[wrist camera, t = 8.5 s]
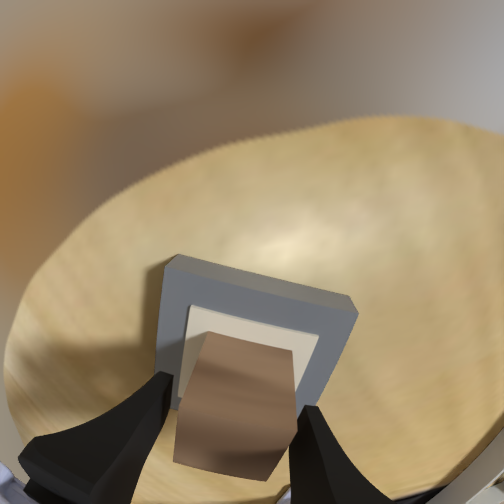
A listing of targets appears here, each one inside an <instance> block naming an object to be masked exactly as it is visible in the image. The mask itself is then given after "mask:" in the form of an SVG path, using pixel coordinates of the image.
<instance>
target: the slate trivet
mask: <svg viewBox="0 0 504 504" xmlns="http://www.w3.org/2000/svg"><path fill="white" fill-rule="evenodd" d="M358 314H359V313H358V311H357V309H356V307H355V306H354V304H353V302H352V300H351V298H350V296H347V295H343V294H338V293H334V292H330V291H326V290H321V289H317V288H313V287H309V286H304V285H300V284H296V283H292V282H288V281H284V280H280V279H275V278H271V277H267V276H263V275H259V274H255V273H251V272H247V271H243V270H239V269H235V268H231V267H227V266H223V265H219V264H215V263H211V262H208V261H204V260H200V259H196V258H192V257H188V256H184V255H181V254H178V255H177V256H176V257H175V258H173V259H172V260H171V261H170V262H169V263H168V264H167V265H166V266H165V269H164V277H163V284H162V293H161V301H160V310H159V320H158V331H157V343H156V356H155V371H154V375H155V374H156V373H157V372H159V371H163V372H166V373H169V374H172V375H174V378H173V387H172V397H171V406H170V408H171V409H174V410H178V409H179V404H180V402H181V399H182V397H183V394H184V392H185V389H186V387H187V384H188V381H189V379H190V376H191V374H192V371H193V369H194V366H195V364H196V361H197V359H198V356H199V354H200V351H201V348H202V346H203V343H204V341H205V338H206V336H207V333H208V331H211V332H214V333H218V334H222V335H226V336H230V337H234V338H238V339H242V340H246V341H251V342H255V343H259V344H264V345H268V346H273V347H278V348H282V349H287V350H292V354H293V367H294V381H295V397H296V413H297V419H298V417H299V415H300V413H301V411H302V409H303V407H304V405H311V406H315V405H316V403H317V401H318V399H319V398H320V396H321V394H322V392H323V390H324V388H325V386H326V384H327V382H328V380H329V378H330V376H331V374H332V372H333V370H334V368H335V366H336V364H337V362H338V360H339V358H340V355H341V353H342V351H343V349H344V347H345V345H346V342H347V340H348V338H349V336H350V333H351V331H352V329H353V326H354V324H355V322H356V319H357V317H358Z"/></svg>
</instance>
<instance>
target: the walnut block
mask: <svg viewBox="0 0 504 504" xmlns="http://www.w3.org/2000/svg"><path fill="white" fill-rule="evenodd" d="M296 433H297V413H296V397H295V381H294V367H293V354H292V350H287V349H282V348H278V347H273V346H268V345H264V344H259V343H255V342H251V341H246V340H242V339H238V338H234V337H230V336H226V335H222V334H218V333H214V332H211V331H208V333H207V336H206V338H205V341H204V343H203V346H202V348H201V351H200V354H199V356H198V359H197V361H196V364H195V366H194V369H193V371H192V374H191V376H190V379H189V381H188V384H187V387H186V389H185V392H184V394H183V397H182V399H181V402H180V404H179V409H178V418H177V427H176V436H175V446H174V456H173V462H175V463H179V464H182V465H186V466H190V467H193V468H197V469H201V470H205V471H210V472H214V473H219V474H223V475H228V476H234V477H239V478H245V479H251V480H258V481H267V480H268V478H269V477H270V475H271V474H272V472H273V470H274V469H275V467H276V466H277V464H278V463H279V461H280V459H281V458H282V456H283V455H284V453H285V451H286V450H287V448H288V446H289V445H290V443H291V441H292V440H293V438H294V436H295V435H296Z"/></svg>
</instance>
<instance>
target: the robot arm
mask: <svg viewBox="0 0 504 504" xmlns="http://www.w3.org/2000/svg"><path fill="white" fill-rule="evenodd" d="M173 378H174V375H172V374H169V373H166V372H163V371H159V372H157V373H156V374H155V375H154V376H153V377H152V378H151V379H150V380H149V381H148V382H147V383H146V384H145V385H144V386H142V387H141V388H140V389H139V390H138V391H136V392H135V393H134V394H133V395H131V396H130V397H129V398H127V399H126V400H125V401H123V402H122V403H120V404H119V405H117V406H116V407H114V408H113V409H111V410H109V411H108V412H106V413H104V414H102V415H101V416H99V417H97V418H95V419H93V420H90V421H88V422H86V423H84V424H81V425H79V426H76V427H73V428H70V429H67V430H64V431H61V432H57V433H53V434H48V435H43V436H37V437H34V438H33V439H32V440H31V441H30V442H29V443H28V444H27V446H26V447H25V448H24V450H23V451H22V452H21V454H20V455H19V456H18V460H19V463H20V464H21V466H22V468H23V469H24V470H25V472H26V473H27V474H28V476H29V477H30V480H29V481H28V483H27V484H24V483H23V482H21V481H20V480H19V479H17V478H16V477H15V476H14V474H13V473H12V472H11V471H10V470H9V468H8V467H6V466H5V465H4V464H3V463H2V462H0V504H130V503H131V500H132V497H133V494H134V491H135V488H136V485H137V482H138V479H139V476H140V474H141V471H142V468H143V465H144V463H145V461H146V459H147V457H148V455H149V453H150V451H151V449H152V447H153V445H154V443H155V441H156V439H157V437H158V435H159V433H160V431H161V429H162V427H163V425H164V423H165V420H166V417H167V414H168V411H169V409H170V406H171V397H172V387H173ZM289 468H290V486H291V487H290V488H289V489H288V490H287V491H286V493H285V494H284V495H283V496H282V497H281V498H280V500H279V501H278V502H277V503H276V504H397V503H395V502H394V501H392V500H391V499H389V498H388V497H387V496H385V495H384V494H383V493H381V492H380V491H379V490H378V489H377V488H376V487H374V486H373V485H372V484H371V483H370V482H369V481H368V480H367V479H366V478H365V477H364V476H363V475H362V474H361V473H360V472H359V470H358V469H357V468H356V467H355V466H354V465H353V463H352V462H351V461H350V459H349V458H348V457H347V455H346V454H345V452H344V451H343V449H342V448H341V446H340V445H339V443H338V441H337V440H336V438H335V436H334V435H333V433H332V431H331V430H330V428H329V426H328V424H327V422H326V420H325V419H324V417H323V415H322V413H321V411H320V409H319V407H318V406H311V405H304V407H303V409H302V411H301V413H300V415H299V417H298V419H297V433H296V435H295V436H294V438H293V440H292V441H291V443H290V445H289Z"/></svg>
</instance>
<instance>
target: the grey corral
mask: <svg viewBox="0 0 504 504" xmlns="http://www.w3.org/2000/svg"><path fill="white" fill-rule="evenodd" d="M503 472H504V428H503V429H502V430H501V431H500V433H499V434H498V435H497V436H496V437H495V439H494V440H493V441H492V442H491V443H490V444H489V445H488V446H487V448H486V449H485V450H484V451H483V452H482V453H481V454H480V455H479V456H478V457H477V458H476V459H475V460H474V461H473V462H472V463H471V464H470V465H469V466H468V467H467V468H466V469H465V470H464V471H463V472H462V473H461V474H460V475H459V476H458V477H457V478H456V479H454V480H453V481H452V482H451V483H450V484H449V485H448V486H447V487H445V488H444V489H443V490H442V491H441V492H439V493H438V494H437V495H436V496H435V497H433V498H432V499H431V500H430V501H428V502H427V503H426V504H499V503H501V502H503V501H504V481H502V482H501V483H499V484H496V485H494V486H492V487H489V488H487V487H488V486H489V485H490V484H491V483H492V482H493V481H494V480H495V479H496V478H498V477H499V476H500V475H501V474H502V473H503ZM485 488H487V489H485Z"/></svg>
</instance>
